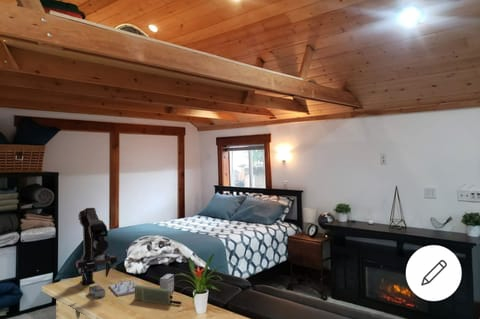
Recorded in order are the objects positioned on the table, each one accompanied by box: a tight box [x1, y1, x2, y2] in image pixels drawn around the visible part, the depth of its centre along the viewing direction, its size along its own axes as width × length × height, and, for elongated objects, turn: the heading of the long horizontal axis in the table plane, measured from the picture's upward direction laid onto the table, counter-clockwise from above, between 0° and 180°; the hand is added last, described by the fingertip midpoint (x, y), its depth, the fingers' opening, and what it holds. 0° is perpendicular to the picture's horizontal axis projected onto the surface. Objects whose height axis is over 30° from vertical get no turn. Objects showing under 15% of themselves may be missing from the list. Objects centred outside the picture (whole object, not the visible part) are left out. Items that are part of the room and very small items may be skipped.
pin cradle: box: [108, 278, 137, 297], centre depth 183 cm, size 16×12×4 cm
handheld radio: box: [134, 284, 182, 305], centre depth 166 cm, size 7×3×25 cm
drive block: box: [88, 284, 106, 299], centre depth 175 cm, size 9×5×4 cm, turn 41°
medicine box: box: [159, 273, 175, 293], centre depth 178 cm, size 8×4×9 cm, turn 169°
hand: (96, 278), depth 175 cm, fingers open, 9 cm apart
